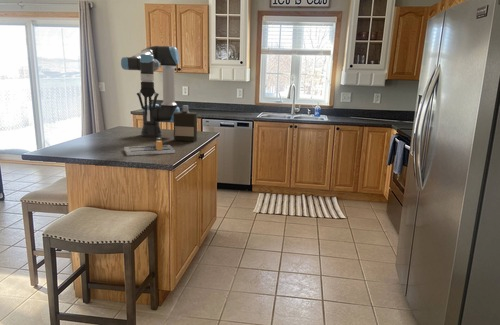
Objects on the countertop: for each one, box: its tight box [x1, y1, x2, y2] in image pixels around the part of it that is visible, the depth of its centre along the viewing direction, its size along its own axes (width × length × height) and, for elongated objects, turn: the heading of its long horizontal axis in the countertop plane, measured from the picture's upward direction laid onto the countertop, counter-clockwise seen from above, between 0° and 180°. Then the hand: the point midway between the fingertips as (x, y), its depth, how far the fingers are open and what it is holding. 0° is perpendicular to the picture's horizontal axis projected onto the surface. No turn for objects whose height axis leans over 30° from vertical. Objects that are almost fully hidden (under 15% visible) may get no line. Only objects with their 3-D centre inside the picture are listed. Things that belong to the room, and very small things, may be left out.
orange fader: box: [155, 140, 163, 150], centre depth 216 cm, size 4×3×5 cm
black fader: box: [155, 137, 163, 142], centre depth 225 cm, size 4×3×5 cm
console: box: [123, 144, 176, 157], centre depth 219 cm, size 15×28×2 cm, turn 114°
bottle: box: [173, 104, 198, 143], centre depth 254 cm, size 8×16×25 cm, turn 88°
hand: (148, 120), depth 218 cm, fingers closed
